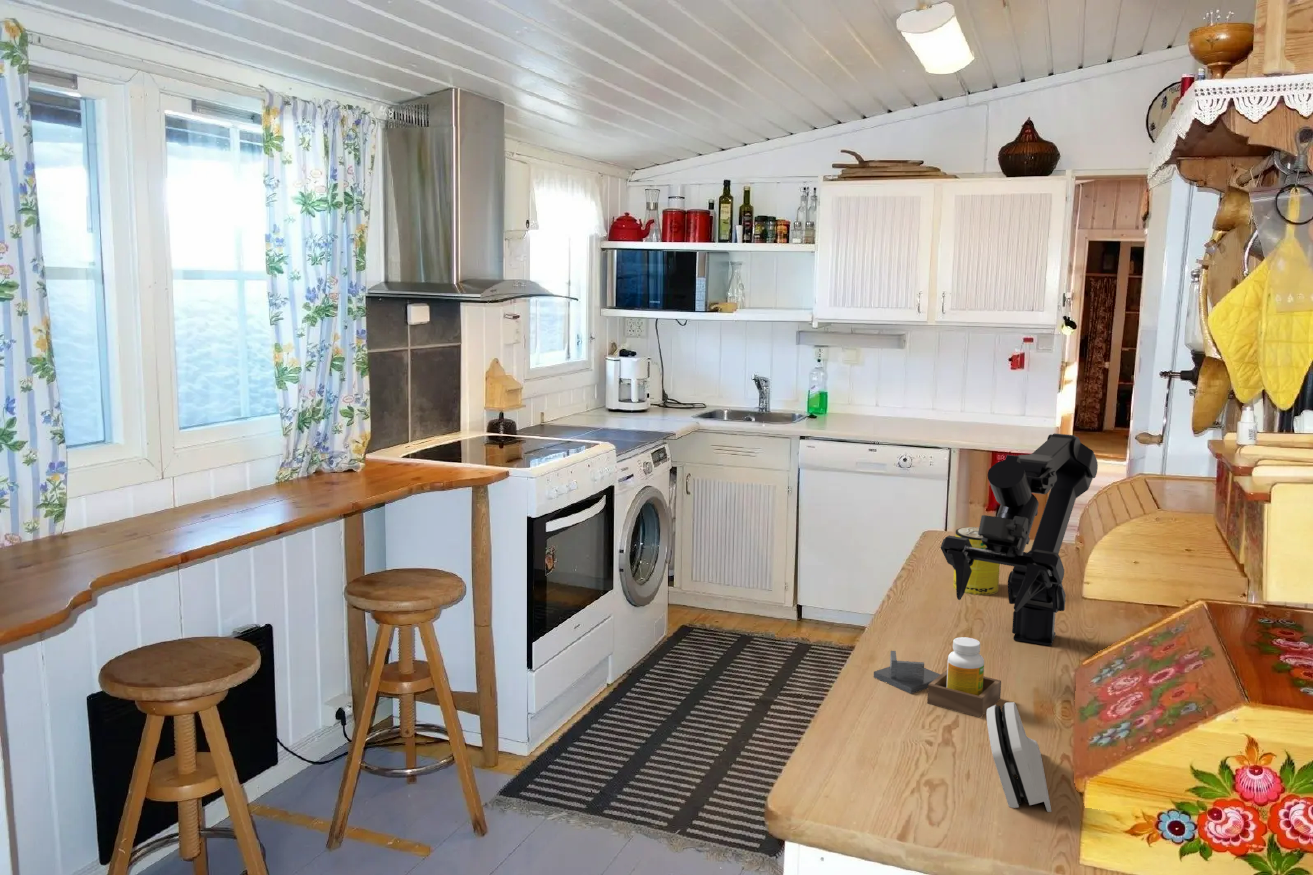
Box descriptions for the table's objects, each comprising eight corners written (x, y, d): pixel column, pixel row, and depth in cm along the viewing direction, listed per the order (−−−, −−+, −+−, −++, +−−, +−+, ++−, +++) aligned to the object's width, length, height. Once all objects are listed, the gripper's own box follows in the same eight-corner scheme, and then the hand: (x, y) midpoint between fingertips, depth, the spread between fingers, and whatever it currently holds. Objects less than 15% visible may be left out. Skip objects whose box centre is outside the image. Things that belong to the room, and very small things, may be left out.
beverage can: (1003, 586, 215) (1006, 530, 213) (991, 597, 207) (994, 540, 205) (960, 579, 220) (962, 525, 218) (947, 590, 212) (950, 534, 210)
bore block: (948, 685, 164) (949, 667, 163) (1000, 698, 159) (1001, 680, 158) (927, 703, 157) (927, 684, 157) (980, 717, 152) (981, 698, 152)
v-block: (907, 666, 172) (908, 643, 171) (944, 682, 165) (946, 658, 165) (873, 677, 167) (874, 654, 167) (911, 693, 161) (912, 669, 160)
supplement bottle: (983, 710, 155) (987, 649, 153) (947, 707, 156) (950, 646, 154) (980, 695, 160) (983, 636, 159) (944, 692, 161) (947, 634, 160)
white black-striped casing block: (1052, 813, 126) (1027, 738, 125) (1013, 820, 127) (988, 746, 127) (1040, 752, 142) (1018, 685, 141) (1006, 758, 143) (984, 692, 142)
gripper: (947, 488, 169) (917, 567, 162) (1063, 503, 158) (1036, 590, 151) (963, 524, 177) (935, 602, 170) (1075, 541, 165) (1049, 625, 159)
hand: (986, 604), depth 162 cm, fingers open, 9 cm apart
